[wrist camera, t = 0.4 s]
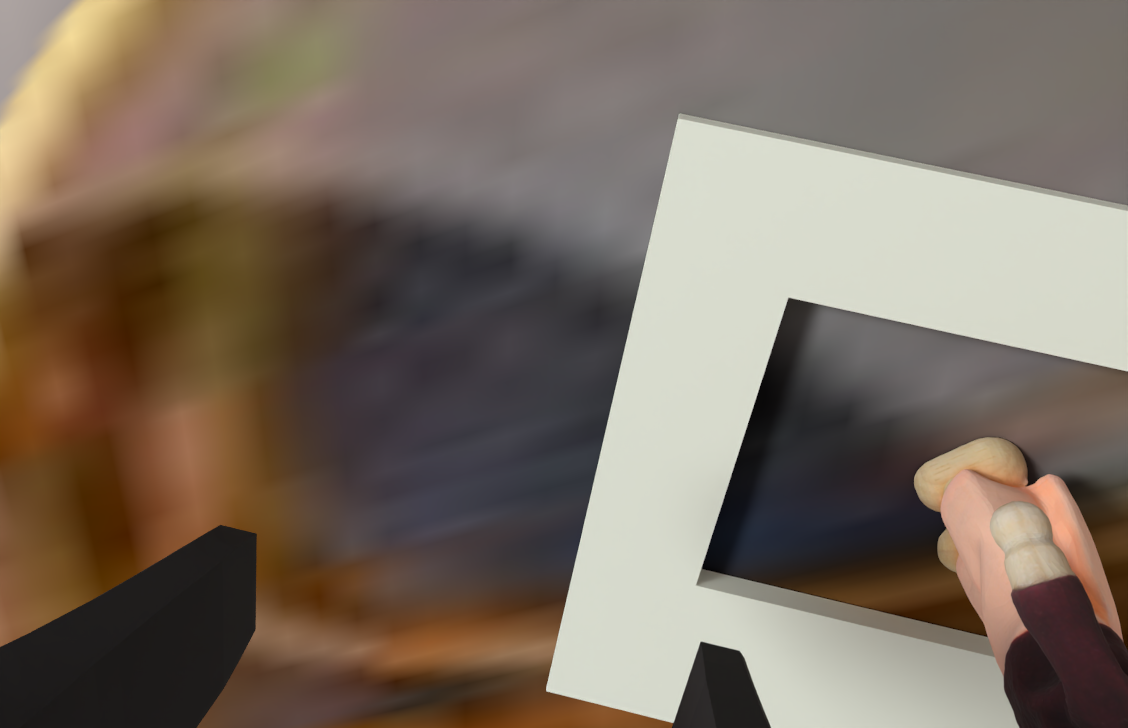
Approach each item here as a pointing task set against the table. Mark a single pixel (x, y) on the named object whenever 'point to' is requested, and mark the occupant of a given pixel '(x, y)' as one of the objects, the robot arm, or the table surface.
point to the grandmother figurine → (1031, 585)
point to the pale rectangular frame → (730, 386)
